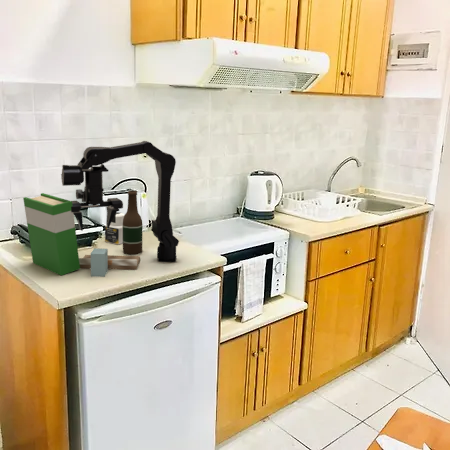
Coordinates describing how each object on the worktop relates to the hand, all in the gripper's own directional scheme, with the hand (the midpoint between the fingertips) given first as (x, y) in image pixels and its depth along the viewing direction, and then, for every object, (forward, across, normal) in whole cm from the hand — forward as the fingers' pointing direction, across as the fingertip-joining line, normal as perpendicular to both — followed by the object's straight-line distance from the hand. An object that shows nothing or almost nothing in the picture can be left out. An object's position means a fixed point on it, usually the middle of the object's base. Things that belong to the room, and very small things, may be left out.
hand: (94, 229), depth 176 cm
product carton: (+14, +1, +8) cm, 16 cm away
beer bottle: (+14, -18, -11) cm, 25 cm away
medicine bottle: (+14, -17, -27) cm, 35 cm away
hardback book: (+13, +12, -5) cm, 19 cm away
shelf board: (+14, -6, 0) cm, 15 cm away
